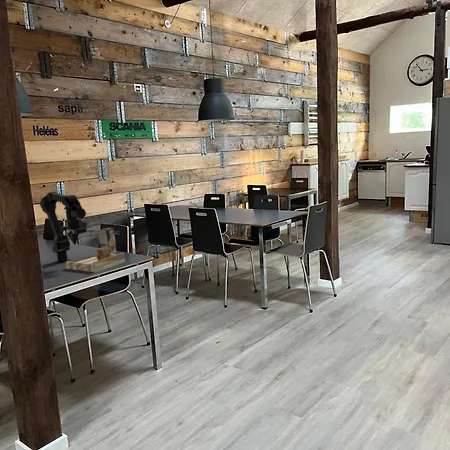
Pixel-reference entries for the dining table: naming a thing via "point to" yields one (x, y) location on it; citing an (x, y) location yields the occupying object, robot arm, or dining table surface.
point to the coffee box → (107, 239)
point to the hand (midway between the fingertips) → (74, 244)
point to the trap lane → (96, 263)
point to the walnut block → (103, 253)
